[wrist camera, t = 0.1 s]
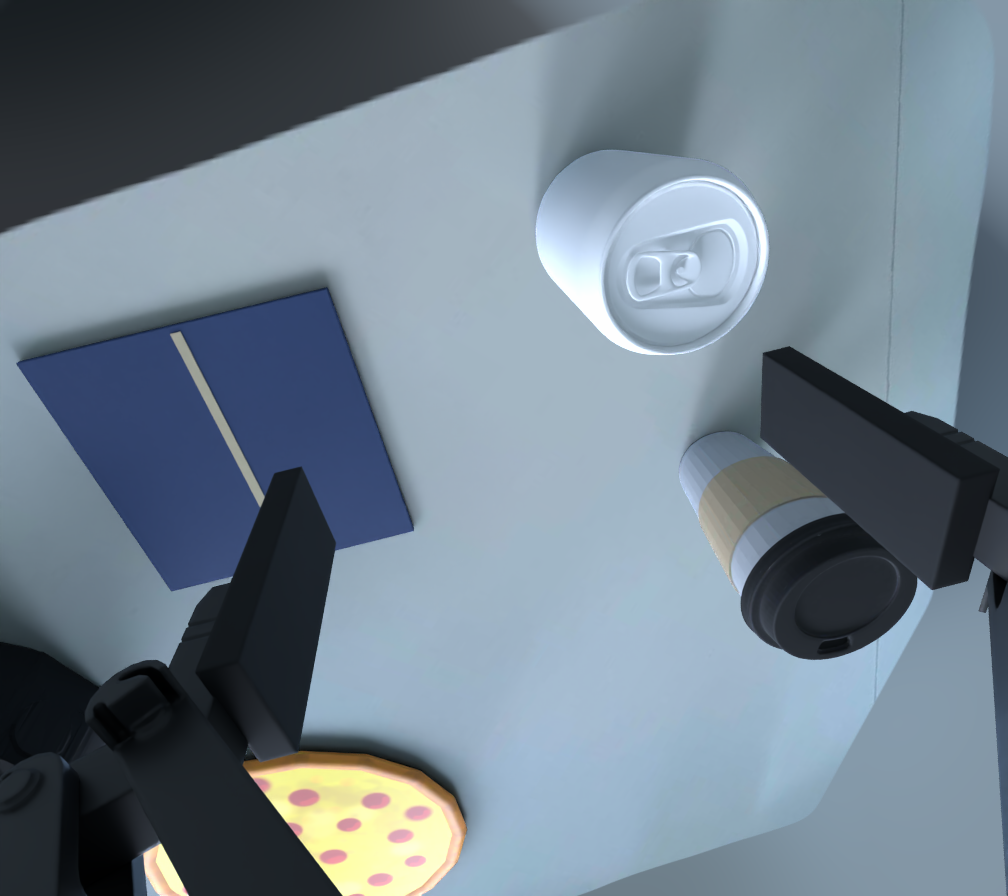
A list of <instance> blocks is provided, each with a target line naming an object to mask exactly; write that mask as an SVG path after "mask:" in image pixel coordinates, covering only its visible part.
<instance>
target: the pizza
mask: <svg viewBox="0 0 1008 896" xmlns="http://www.w3.org/2000/svg"><path fill="white" fill-rule="evenodd" d="M243 766H244V768H245V769H246V770H247V772H248V773H249V774H250V776H251V777H252V778H253V779H254V781H255V782H256V783H257V785H258V786H259V787H260V789H261V790H262V791H263V792H264V794H265V795H266V796H267V798H268V799H269V800H270V802H271V803H272V804H273V805H274V807H275V808H276V809H277V811H278V812H279V813H280V815H281V816H282V817H283V818H284V820H285V821H286V822H287V824H288V825H289V826H290V828H291V829H292V830H293V831H294V833H295V834H296V835H297V837H298V838H299V839H300V841H301V842H302V843H303V844H304V846H305V847H306V848H307V850H308V851H309V852H310V854H311V855H312V856H313V857H314V859H315V860H316V861H317V863H318V864H319V865H320V867H321V868H322V869H323V870H324V872H325V873H326V874H327V876H328V877H329V878H330V880H331V881H332V882H333V883H334V885H335V886H336V887H337V889H338V890H339V891H340V893H341V894H342V895H343V896H420V895H422V894H424V893H425V892H427V891H429V890H431V889H432V888H433V887H434V886H435V885H436V884H437V883H438V882H439V881H440V880H441V879H442V878H443V877H444V876H445V875H446V874H447V873H448V872H449V870H450V869H451V868H452V867H453V866H454V865H455V864H456V863H457V862H458V859H459V856H460V852H461V849H462V845H463V842H464V838H465V835H466V831H467V827H466V824H465V822H464V819H463V817H462V814H461V812H460V809H459V807H458V804H457V802H456V799H455V797H454V796H453V795H452V794H451V793H449V792H448V791H447V790H445V789H444V788H443V787H441V786H440V785H439V784H437V783H436V782H435V781H433V780H432V779H431V778H429V777H428V776H427V775H426V774H424V773H423V772H422V771H420V770H417V769H414V768H411V767H408V766H404V765H401V764H398V763H395V762H391V761H388V760H385V759H382V758H378V757H375V756H372V755H369V754H356V753H335V752H314V751H299V752H298V753H295V754H292V755H288V756H284V757H280V758H276V759H272V760H268V761H264V762H259V761H258V759H254V760H248V761H244V762H243ZM143 856H144V867H145V873H146V875H147V877H148V879H149V880H150V882H151V884H152V886H153V887H154V889H155V891H156V892H157V893H158V894H160V895H161V896H189V895H188V893H187V891H186V889H185V888H184V886H183V884H182V882H181V880H180V878H179V876H178V874H177V872H176V870H175V869H174V867H173V865H172V863H171V861H170V859H169V857H168V855H167V853H166V852H165V850H164V848H163V846H162V844H159V845H158V846H156V847H154V848H152V849H151V850H149V851H147V852H145V853H144V854H143Z"/></svg>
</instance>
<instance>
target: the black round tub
mask: <svg viewBox="0 0 1008 896" xmlns="http://www.w3.org/2000/svg"><path fill="white" fill-rule="evenodd" d="M98 689H99V688H98V687H97V686H95V685H94V684H92V683H91V682H89V681H88V680H86V679H84V678H83V677H81V676H80V675H78V674H77V673H75V672H74V671H72V670H70V669H69V668H67V667H66V666H64V665H63V664H61V663H59V662H58V661H56V660H55V659H53V658H52V657H50V656H49V655H47V654H45V653H44V652H38V651H35V650H33V649H29V648H25V647H21V646H16V645H11V644H6V643H1V642H0V776H1V775H3V774H4V773H5V772H6V771H8V770H9V769H11V768H12V767H13V766H15V765H16V764H18V763H19V762H21V761H23V760H25V759H27V758H29V757H32V756H34V755H36V754H40V753H47V752H53V753H55V754H57V755H60V756H61V757H62V758H63V759H64V760H65V761H66V762H67V763H68V764H69V763H71V762H73V761H75V760H77V759H79V758H81V757H83V756H85V755H87V754H89V753H91V752H93V751H95V750H97V749H99V748H101V747H103V746H105V745H106V744H105V743H104V742H103V740H102V739H101V738H100V737H99V736H98V735H97V734H96V733H95V732H94V731H93V730H92V729H91V728H90V727H89V725H88V724H87V723H86V722H85V710H86V708H87V705H88V703H89V701H90V699H91V698H92V696H93V695H94V694H95V693H96V692H97V690H98Z"/></svg>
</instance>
